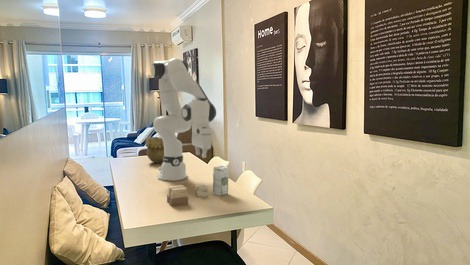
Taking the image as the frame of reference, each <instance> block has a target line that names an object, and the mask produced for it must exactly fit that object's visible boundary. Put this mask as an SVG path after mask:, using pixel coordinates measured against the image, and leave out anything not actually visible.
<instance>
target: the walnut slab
mask: <svg viewBox="0 0 470 265" xmlns="http://www.w3.org/2000/svg"><path fill="white" fill-rule="evenodd" d="M166 202H167V204H168V203H169V204H168V205H169V206H170V207H172V208H173V206H174V207H180V206H187V205H188V206H189V196H187V197H181V198H171V196H170V195H169V193H168V194H166Z"/></svg>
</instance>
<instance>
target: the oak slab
mask: <svg viewBox="0 0 470 265" xmlns="http://www.w3.org/2000/svg"><path fill="white" fill-rule="evenodd" d="M168 194H169V195H170V196H171V198H181V197H188V188H187V187H186V186H185V185H183V184H179V185H171V186H170V185H169V186H168Z"/></svg>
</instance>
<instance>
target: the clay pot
mask: <svg viewBox="0 0 470 265" xmlns="http://www.w3.org/2000/svg"><path fill="white" fill-rule="evenodd" d="M145 140H146V142H145V147H147V148H146V156H147V158H148V159H149V161H151V162H153V163H155V164H162V163H163V156H164V144H163V140H162V138H161V137H157V136H155V137H154V136H151V137H146V139H145Z"/></svg>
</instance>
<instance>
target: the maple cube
mask: <svg viewBox="0 0 470 265" xmlns="http://www.w3.org/2000/svg"><path fill="white" fill-rule="evenodd" d="M208 189H209V187H208V186H207V185H206V184H197V185H196V184H195V185H194V195H195V196H196V197H197V196H198V197H197V198H201V197H208V195H209V194H208V193H209V190H208Z"/></svg>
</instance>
